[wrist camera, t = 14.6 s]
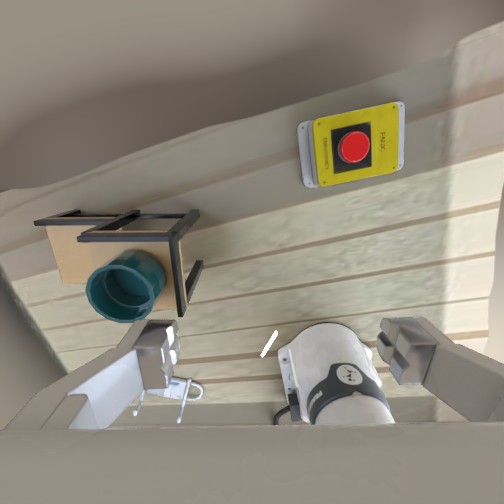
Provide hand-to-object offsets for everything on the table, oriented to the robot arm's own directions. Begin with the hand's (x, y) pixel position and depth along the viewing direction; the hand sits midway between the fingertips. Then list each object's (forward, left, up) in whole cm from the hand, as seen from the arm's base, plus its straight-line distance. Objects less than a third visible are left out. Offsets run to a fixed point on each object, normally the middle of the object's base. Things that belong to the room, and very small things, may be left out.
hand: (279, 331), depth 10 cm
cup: (-6, +14, -18) cm, 24 cm away
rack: (-6, +19, -31) cm, 37 cm away
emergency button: (+8, -14, -31) cm, 35 cm away
